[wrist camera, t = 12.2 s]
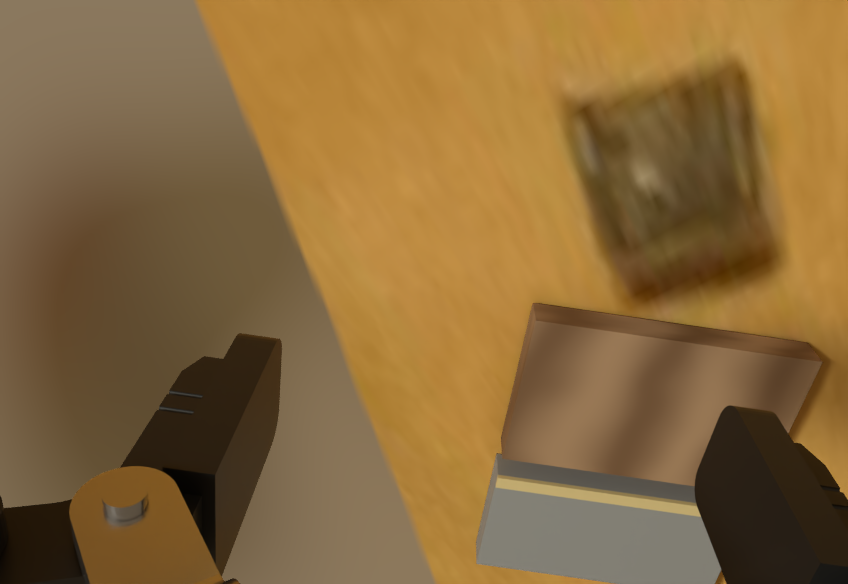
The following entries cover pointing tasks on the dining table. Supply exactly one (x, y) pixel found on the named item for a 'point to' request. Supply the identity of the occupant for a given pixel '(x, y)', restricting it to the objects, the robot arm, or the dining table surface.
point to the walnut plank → (641, 391)
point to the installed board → (593, 526)
